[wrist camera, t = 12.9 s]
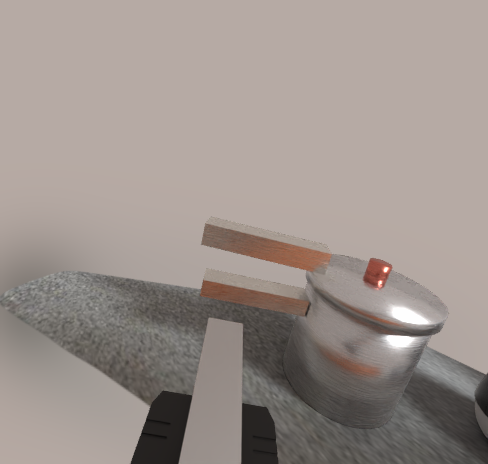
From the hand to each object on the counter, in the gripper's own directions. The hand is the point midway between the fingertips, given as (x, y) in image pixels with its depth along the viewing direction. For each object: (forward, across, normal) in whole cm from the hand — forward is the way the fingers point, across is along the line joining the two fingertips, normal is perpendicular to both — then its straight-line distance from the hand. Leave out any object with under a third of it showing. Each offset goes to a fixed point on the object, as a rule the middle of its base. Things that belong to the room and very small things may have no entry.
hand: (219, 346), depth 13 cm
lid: (+20, +11, -5) cm, 23 cm away
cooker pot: (+20, +11, -17) cm, 28 cm away
